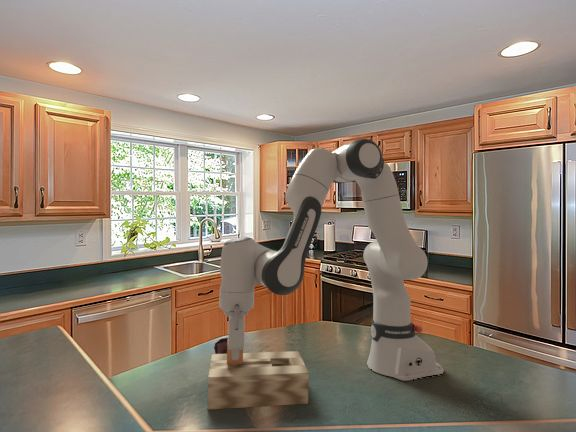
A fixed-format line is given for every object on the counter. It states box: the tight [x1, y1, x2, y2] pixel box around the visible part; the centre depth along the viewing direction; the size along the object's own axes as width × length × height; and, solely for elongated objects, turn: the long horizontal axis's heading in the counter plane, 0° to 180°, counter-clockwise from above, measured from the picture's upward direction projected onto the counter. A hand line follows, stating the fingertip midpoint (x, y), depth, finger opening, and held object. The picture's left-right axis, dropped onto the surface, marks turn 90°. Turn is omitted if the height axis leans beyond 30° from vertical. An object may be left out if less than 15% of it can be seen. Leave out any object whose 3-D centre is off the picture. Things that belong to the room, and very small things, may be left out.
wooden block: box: [227, 339, 244, 366], centre depth 88 cm, size 4×4×9 cm
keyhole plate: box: [206, 350, 310, 410], centre depth 89 cm, size 24×14×8 cm, turn 99°
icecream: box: [213, 337, 228, 354], centre depth 110 cm, size 7×7×15 cm
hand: (235, 354), depth 88 cm, fingers closed on wooden block, 4 cm apart
